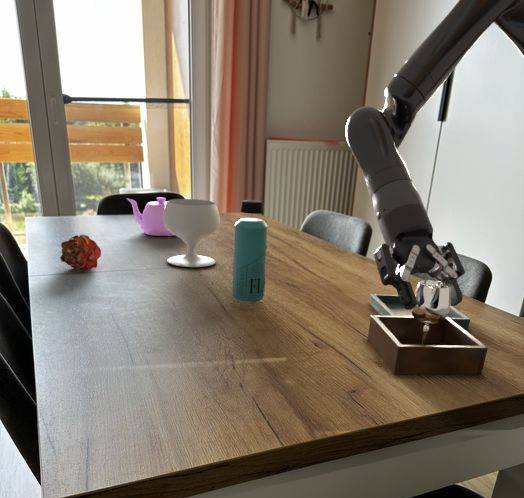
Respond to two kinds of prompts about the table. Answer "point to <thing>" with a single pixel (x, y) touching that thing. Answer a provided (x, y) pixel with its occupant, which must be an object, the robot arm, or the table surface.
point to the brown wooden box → (425, 347)
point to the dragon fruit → (80, 252)
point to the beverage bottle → (249, 254)
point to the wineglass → (431, 303)
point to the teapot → (152, 217)
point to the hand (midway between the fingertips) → (435, 305)
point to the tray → (393, 307)
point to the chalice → (191, 227)
